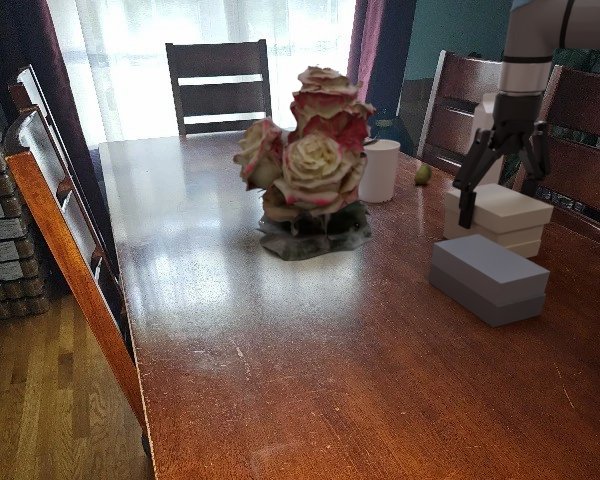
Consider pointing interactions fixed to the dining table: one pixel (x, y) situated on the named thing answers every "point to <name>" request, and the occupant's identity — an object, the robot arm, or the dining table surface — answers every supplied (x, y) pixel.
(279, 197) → the rose bouquet
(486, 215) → the cream book
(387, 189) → the white cup
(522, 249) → the cream stack
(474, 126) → the milk
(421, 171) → the lime
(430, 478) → the dining table surface
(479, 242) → the grey stack
